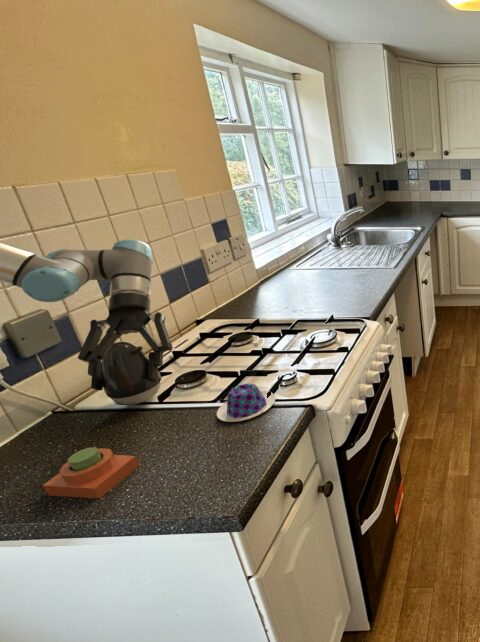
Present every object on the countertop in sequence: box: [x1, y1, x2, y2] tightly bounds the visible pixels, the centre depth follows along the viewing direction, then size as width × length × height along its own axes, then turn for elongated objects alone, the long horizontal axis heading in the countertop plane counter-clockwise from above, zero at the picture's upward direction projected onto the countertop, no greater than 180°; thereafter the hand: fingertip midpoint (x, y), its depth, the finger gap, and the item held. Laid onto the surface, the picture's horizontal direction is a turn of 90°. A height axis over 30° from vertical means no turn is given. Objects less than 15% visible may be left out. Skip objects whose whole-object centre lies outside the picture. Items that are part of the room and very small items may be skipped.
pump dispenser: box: [101, 341, 162, 406], centre depth 97 cm, size 10×10×15 cm
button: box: [67, 446, 102, 471], centre depth 75 cm, size 4×4×2 cm
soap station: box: [42, 447, 140, 499], centre depth 77 cm, size 10×8×4 cm
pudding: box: [216, 383, 276, 423], centre depth 97 cm, size 12×12×5 cm
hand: (125, 384), depth 95 cm, fingers closed on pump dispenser, 10 cm apart
